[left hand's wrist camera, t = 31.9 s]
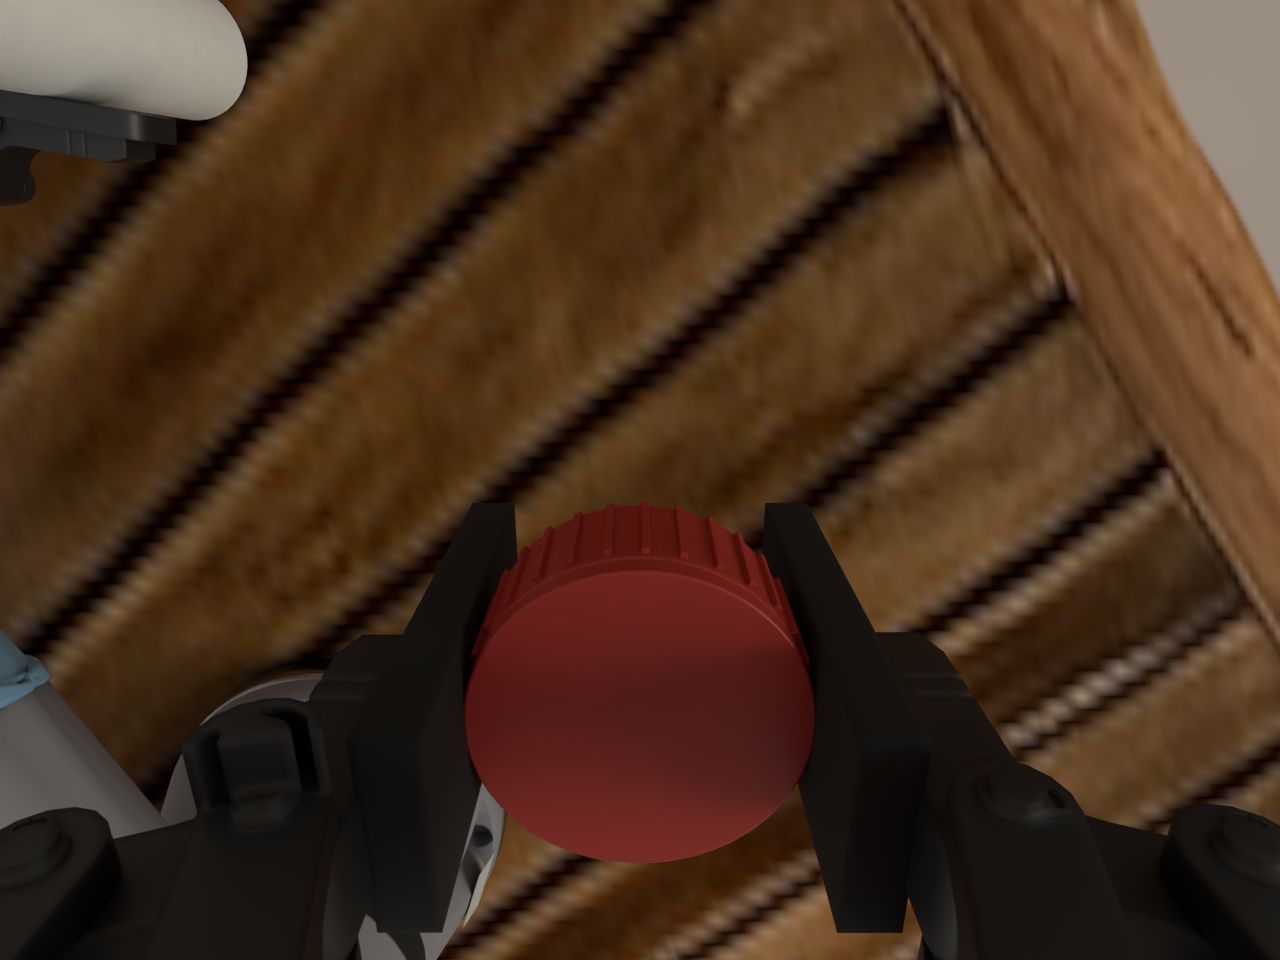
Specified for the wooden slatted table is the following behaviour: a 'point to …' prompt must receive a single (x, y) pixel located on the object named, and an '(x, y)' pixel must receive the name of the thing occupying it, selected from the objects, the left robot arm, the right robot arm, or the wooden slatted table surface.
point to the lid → (639, 687)
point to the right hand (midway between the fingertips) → (154, 29)
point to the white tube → (125, 54)
